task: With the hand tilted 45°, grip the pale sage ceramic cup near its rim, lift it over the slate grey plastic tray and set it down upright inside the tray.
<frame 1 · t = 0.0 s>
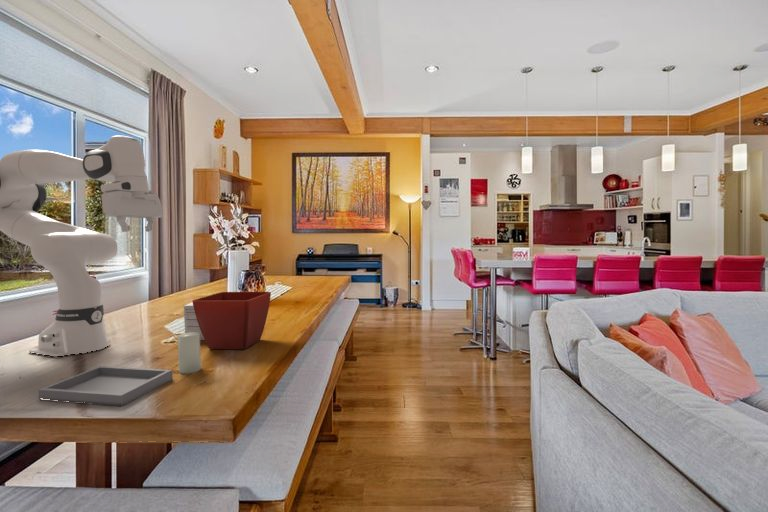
hand: (138, 231, 124), 39 cm above the table, tool pointing down, fingers open, 8 cm apart
plant pot: (235, 344, 134), on the table
grey tray: (109, 389, 96), on the table
supplement box: (199, 338, 143), on the table
sage cup: (190, 370, 109), on the table
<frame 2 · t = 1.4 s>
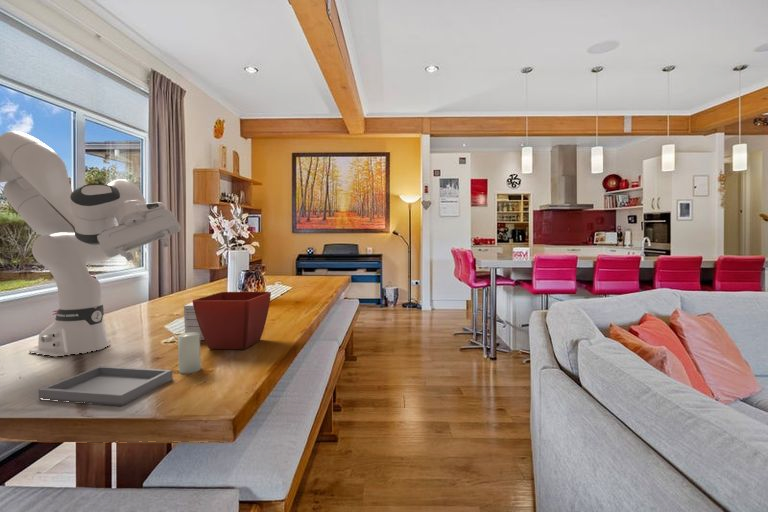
hand: (148, 251, 107), 33 cm above the table, tool tilted 50°, fingers open, 8 cm apart
nothing on the table moved.
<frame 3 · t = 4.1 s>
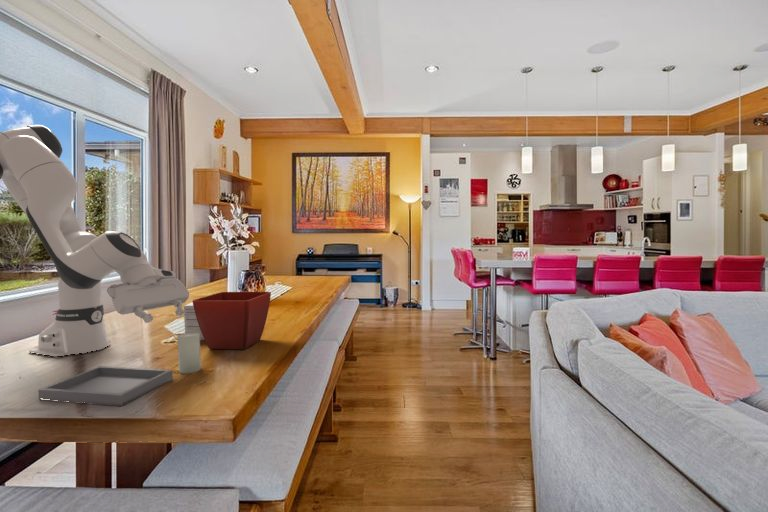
hand: (166, 317, 111), 14 cm above the table, tool tilted 45°, fingers open, 8 cm apart
nothing on the table moved.
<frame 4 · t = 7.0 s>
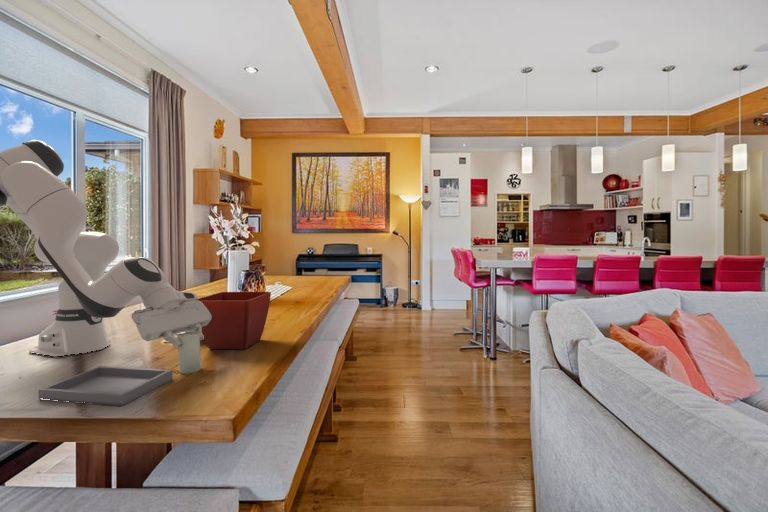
hand: (190, 342, 108), 8 cm above the table, tool tilted 45°, fingers closed on sage cup, 5 cm apart
sage cup: (190, 370, 109), on the table, touching gripper
everything else where it was.
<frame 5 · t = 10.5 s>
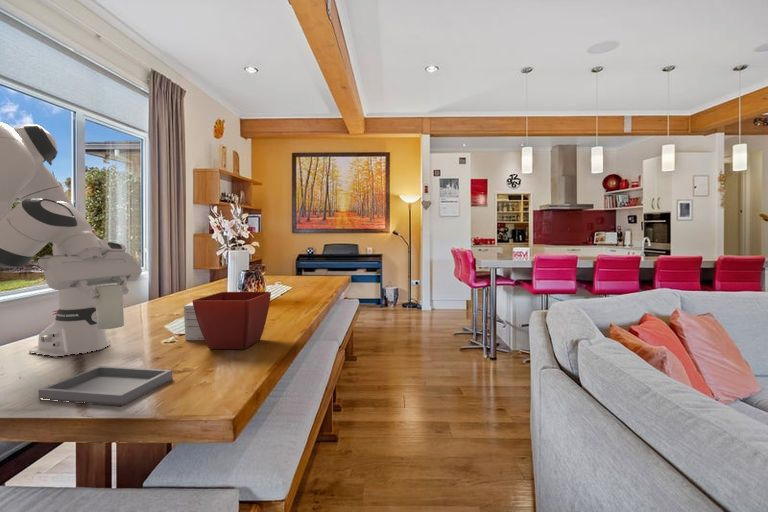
hand: (110, 295, 95), 23 cm above the table, tool tilted 45°, fingers closed on sage cup, 5 cm apart
sage cup: (110, 326, 96), point 15 cm above the table, touching gripper
everything else where it was.
when the fingers open (10 cm above the table, at t = 14.1 s): sage cup drops 1 cm, resting on grey tray.
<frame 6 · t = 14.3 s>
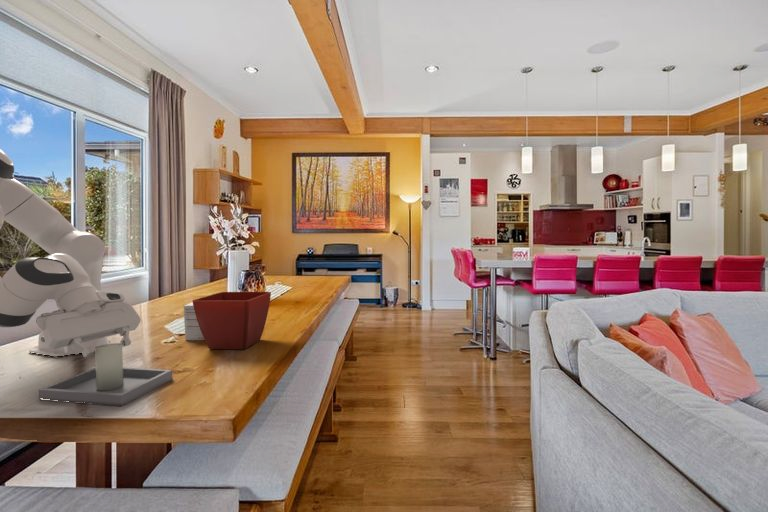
hand: (109, 349, 95), 10 cm above the table, tool tilted 45°, fingers open, 7 cm apart
sage cup: (110, 386, 96), point 1 cm above the table, touching grey tray
everything else where it was.
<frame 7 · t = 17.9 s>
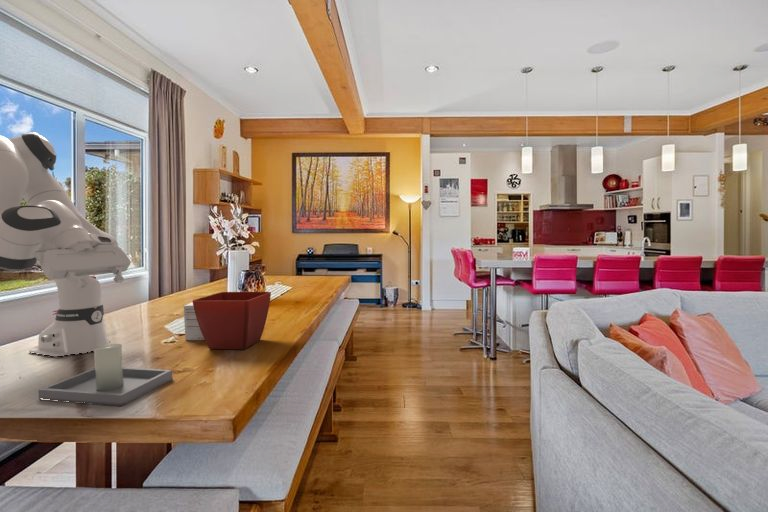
hand: (102, 283, 104), 25 cm above the table, tool tilted 45°, fingers open, 8 cm apart
nothing on the table moved.
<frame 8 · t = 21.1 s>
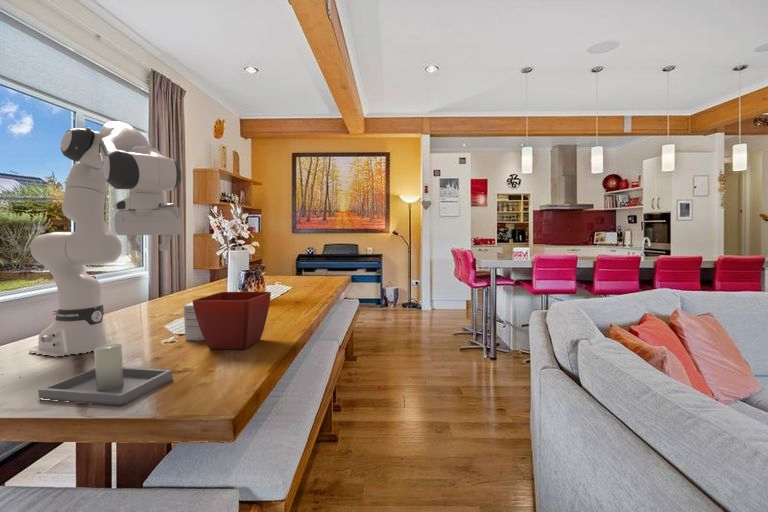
hand: (149, 250, 117), 33 cm above the table, tool pointing down, fingers open, 8 cm apart
nothing on the table moved.
at the end: sage cup inside the target area on the grey tray (0.1 cm from its centre), point 0.6 cm above the grey tray's base; sage cup tilted 0°; the gripper is holding nothing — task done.
